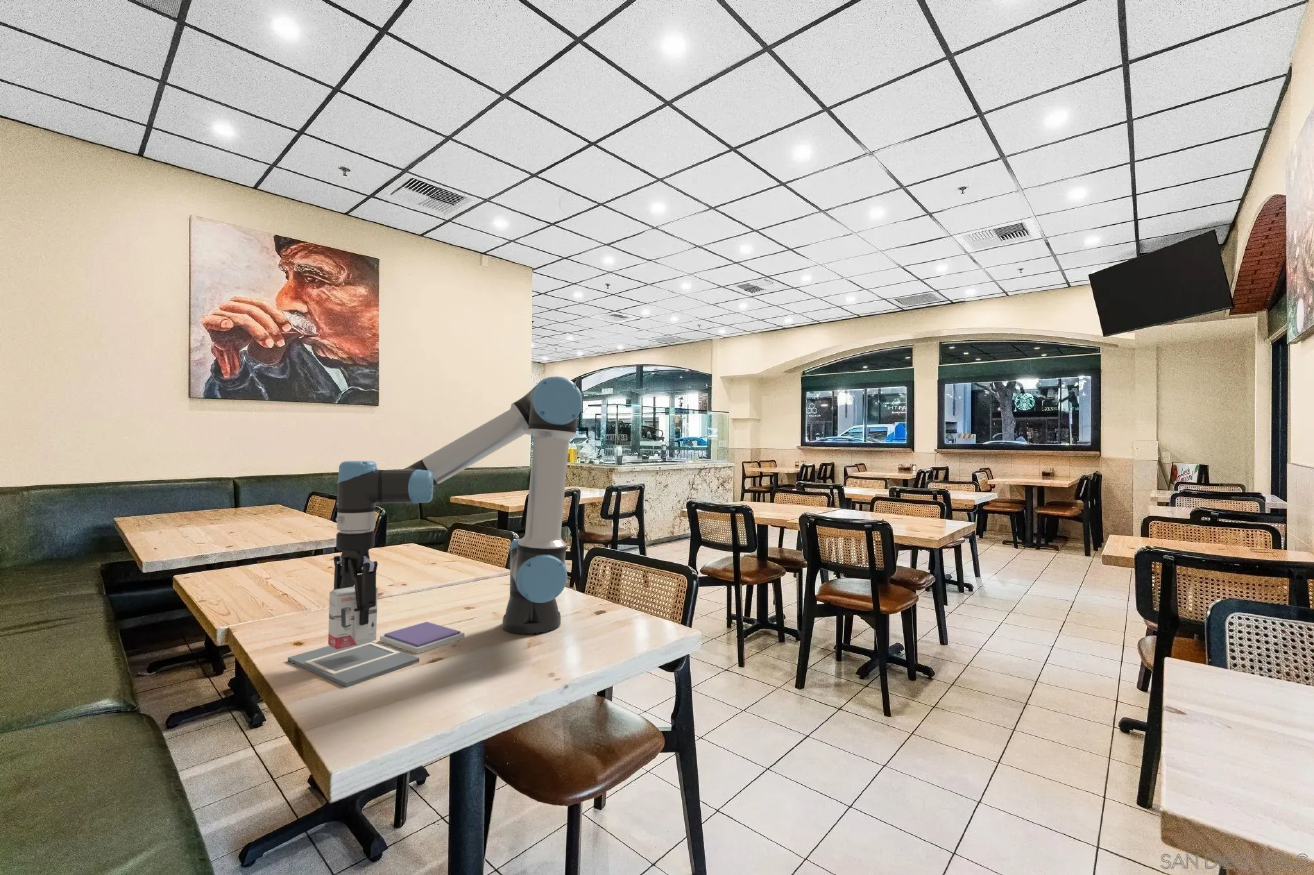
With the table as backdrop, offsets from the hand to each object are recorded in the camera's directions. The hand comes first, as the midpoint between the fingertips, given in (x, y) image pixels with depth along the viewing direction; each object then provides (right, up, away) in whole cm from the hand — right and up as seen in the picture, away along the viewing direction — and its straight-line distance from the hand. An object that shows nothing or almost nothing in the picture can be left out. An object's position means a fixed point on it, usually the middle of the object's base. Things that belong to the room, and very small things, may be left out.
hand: (353, 636), depth 125 cm
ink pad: (+9, -6, +14) cm, 18 cm away
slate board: (0, -6, 0) cm, 6 cm away
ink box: (0, -2, 0) cm, 2 cm away
